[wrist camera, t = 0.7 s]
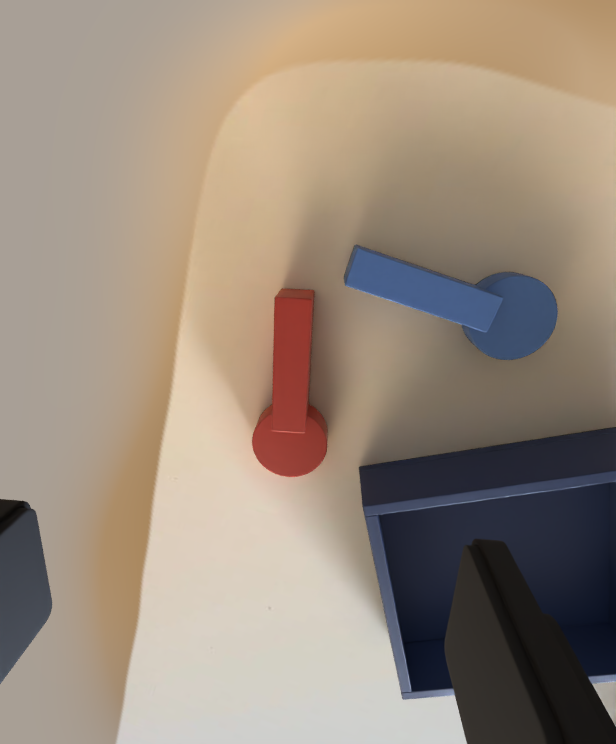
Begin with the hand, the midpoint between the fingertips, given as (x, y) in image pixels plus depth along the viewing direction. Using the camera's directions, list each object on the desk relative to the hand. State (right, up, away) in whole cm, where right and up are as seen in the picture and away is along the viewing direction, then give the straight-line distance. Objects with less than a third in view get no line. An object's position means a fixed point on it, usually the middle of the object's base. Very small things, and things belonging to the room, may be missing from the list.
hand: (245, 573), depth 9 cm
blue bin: (+12, -6, +15) cm, 20 cm away
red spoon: (+1, +4, +13) cm, 13 cm away
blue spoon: (+8, +8, +11) cm, 16 cm away
